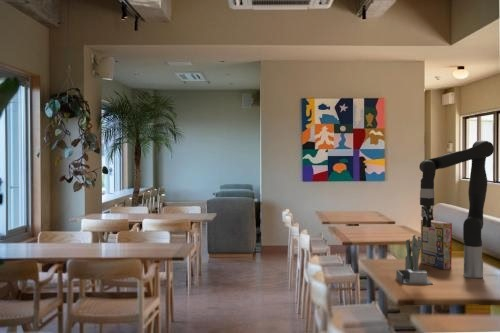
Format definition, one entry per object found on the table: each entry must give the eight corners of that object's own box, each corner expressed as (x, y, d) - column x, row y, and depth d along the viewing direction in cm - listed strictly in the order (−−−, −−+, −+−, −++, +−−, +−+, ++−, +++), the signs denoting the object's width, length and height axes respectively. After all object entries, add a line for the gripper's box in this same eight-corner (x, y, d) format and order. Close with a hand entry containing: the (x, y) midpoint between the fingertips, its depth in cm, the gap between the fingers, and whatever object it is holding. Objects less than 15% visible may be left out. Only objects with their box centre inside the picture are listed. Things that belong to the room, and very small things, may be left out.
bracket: (413, 276, 299) (414, 240, 299) (400, 274, 303) (401, 239, 302) (423, 266, 324) (423, 233, 323) (410, 265, 327) (411, 232, 326)
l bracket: (409, 281, 284) (409, 272, 284) (406, 278, 291) (406, 269, 291) (427, 282, 284) (427, 272, 284) (423, 278, 291) (423, 269, 291)
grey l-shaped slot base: (426, 278, 294) (426, 270, 294) (432, 284, 281) (432, 275, 281) (396, 278, 295) (396, 269, 295) (401, 284, 282) (401, 275, 282)
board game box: (451, 269, 318) (452, 223, 317) (443, 269, 315) (444, 223, 314) (427, 262, 337) (428, 219, 336) (419, 263, 334) (420, 219, 333)
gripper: (416, 195, 304) (416, 224, 304) (423, 197, 290) (423, 228, 290) (430, 195, 303) (430, 224, 304) (437, 198, 289) (437, 228, 290)
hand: (426, 226), depth 297 cm, fingers open, 8 cm apart
